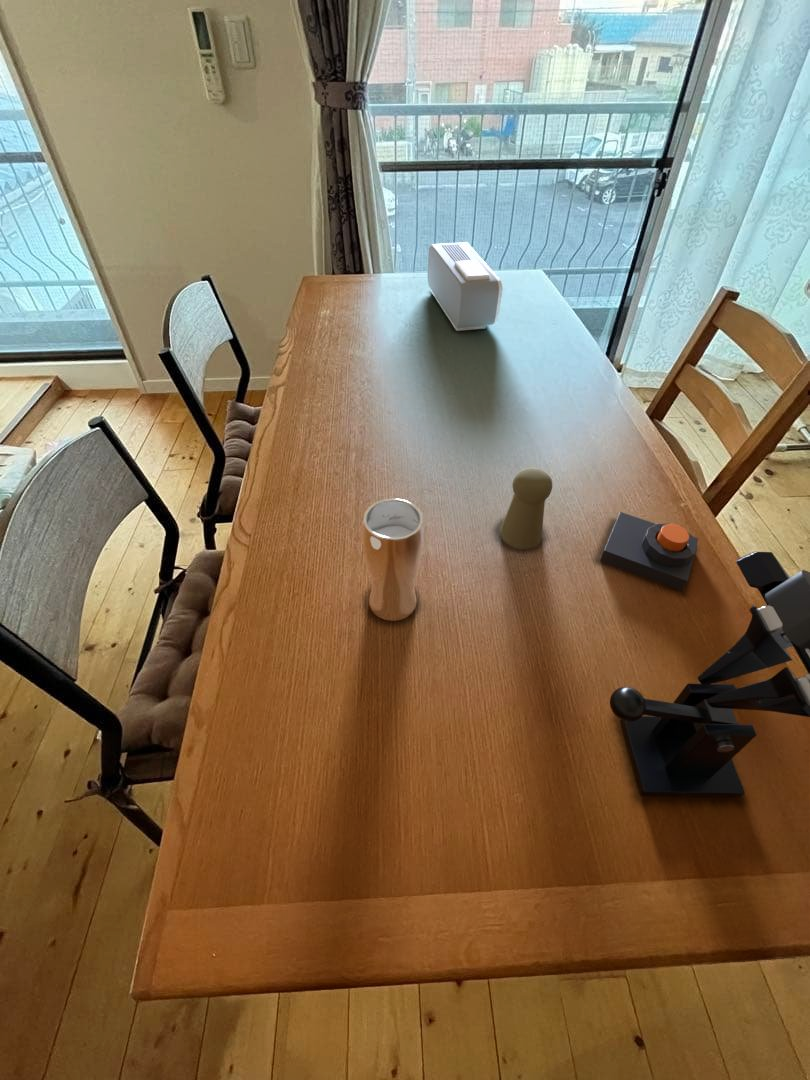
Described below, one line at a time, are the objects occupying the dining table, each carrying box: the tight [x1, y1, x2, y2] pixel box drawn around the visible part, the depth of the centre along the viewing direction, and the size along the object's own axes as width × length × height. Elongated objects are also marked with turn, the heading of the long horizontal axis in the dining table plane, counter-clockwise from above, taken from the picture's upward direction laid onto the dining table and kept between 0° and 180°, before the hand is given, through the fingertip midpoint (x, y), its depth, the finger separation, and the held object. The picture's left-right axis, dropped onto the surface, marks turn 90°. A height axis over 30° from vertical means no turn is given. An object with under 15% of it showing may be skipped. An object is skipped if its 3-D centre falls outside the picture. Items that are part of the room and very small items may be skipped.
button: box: [657, 523, 690, 552], centre depth 74 cm, size 4×4×2 cm
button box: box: [599, 511, 699, 592], centre depth 77 cm, size 11×9×4 cm
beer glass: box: [362, 498, 425, 622], centre depth 66 cm, size 7×7×15 cm
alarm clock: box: [426, 241, 504, 332], centre depth 129 cm, size 27×9×12 cm, turn 13°
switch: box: [609, 686, 740, 732], centre depth 51 cm, size 12×3×3 cm, turn 90°
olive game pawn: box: [499, 467, 553, 550], centre depth 77 cm, size 6×6×11 cm
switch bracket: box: [619, 682, 757, 799], centre depth 54 cm, size 10×8×11 cm
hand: (704, 692), depth 48 cm, fingers closed
